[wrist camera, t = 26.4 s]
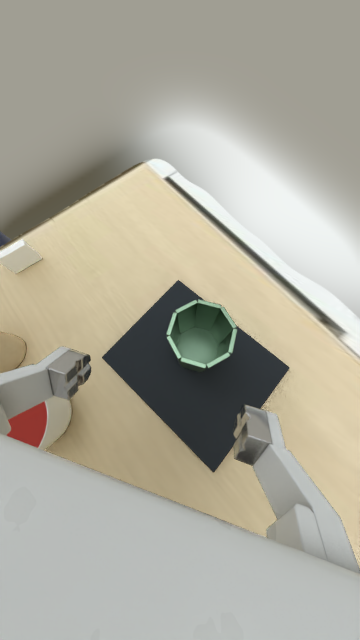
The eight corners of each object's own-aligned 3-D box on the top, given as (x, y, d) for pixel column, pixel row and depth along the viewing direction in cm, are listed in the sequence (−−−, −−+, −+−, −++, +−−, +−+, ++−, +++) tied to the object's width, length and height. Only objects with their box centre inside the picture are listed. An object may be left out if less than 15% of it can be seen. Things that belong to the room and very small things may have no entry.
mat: (103, 357, 28) (101, 357, 27) (178, 281, 31) (178, 279, 30) (213, 470, 23) (213, 472, 23) (287, 367, 26) (290, 367, 26)
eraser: (42, 258, 33) (25, 244, 29) (16, 274, 32) (-5, 261, 29) (39, 253, 33) (22, 238, 30) (13, 269, 33) (-8, 255, 29)
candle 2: (94, 415, 25) (65, 426, 19) (36, 472, 24) (-16, 503, 18) (56, 365, 27) (19, 361, 21) (0, 414, 26) (-57, 425, 20)
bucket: (223, 333, 27) (213, 376, 26) (181, 321, 28) (168, 363, 26) (241, 310, 18) (227, 375, 17) (179, 294, 19) (159, 354, 17)
